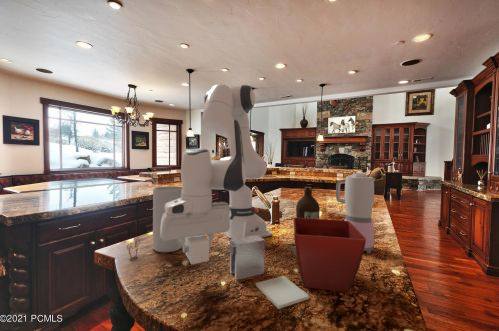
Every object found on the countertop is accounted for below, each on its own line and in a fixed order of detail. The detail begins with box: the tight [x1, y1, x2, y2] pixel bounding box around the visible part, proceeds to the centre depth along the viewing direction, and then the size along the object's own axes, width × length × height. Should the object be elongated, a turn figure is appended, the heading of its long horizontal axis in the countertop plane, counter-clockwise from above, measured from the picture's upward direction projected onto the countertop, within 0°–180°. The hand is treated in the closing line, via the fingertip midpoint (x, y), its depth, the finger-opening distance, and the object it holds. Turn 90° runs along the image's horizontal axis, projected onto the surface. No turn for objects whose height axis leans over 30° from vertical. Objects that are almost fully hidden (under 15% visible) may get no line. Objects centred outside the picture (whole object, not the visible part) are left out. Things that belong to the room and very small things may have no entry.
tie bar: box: [229, 241, 267, 255], centre depth 77 cm, size 12×2×2 cm, turn 117°
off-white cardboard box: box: [184, 235, 210, 265], centre depth 69 cm, size 5×8×6 cm, turn 27°
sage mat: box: [255, 275, 310, 310], centre depth 66 cm, size 10×12×1 cm
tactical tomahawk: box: [284, 243, 297, 259], centre depth 93 cm, size 21×7×1 cm, turn 2°
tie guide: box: [229, 235, 265, 281], centre depth 77 cm, size 10×5×11 cm, turn 117°
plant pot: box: [293, 217, 366, 293], centre depth 73 cm, size 19×19×17 cm
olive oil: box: [295, 186, 321, 219], centre depth 108 cm, size 11×11×25 cm
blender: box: [335, 173, 377, 254], centre depth 101 cm, size 16×12×32 cm
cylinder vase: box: [152, 185, 185, 253], centre depth 98 cm, size 12×12×25 cm
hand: (196, 249), depth 69 cm, fingers closed on off-white cardboard box, 5 cm apart
